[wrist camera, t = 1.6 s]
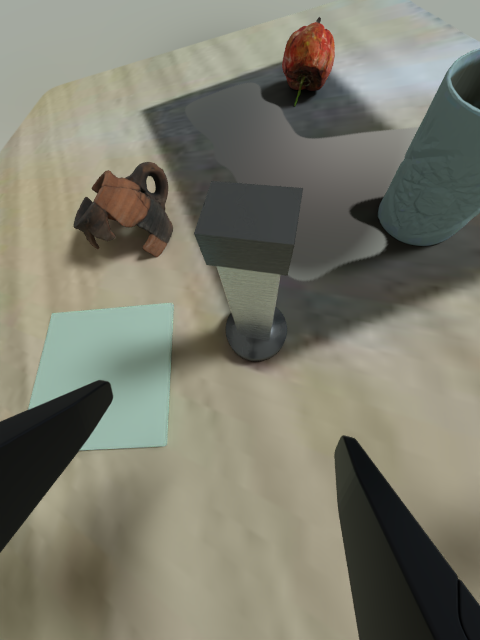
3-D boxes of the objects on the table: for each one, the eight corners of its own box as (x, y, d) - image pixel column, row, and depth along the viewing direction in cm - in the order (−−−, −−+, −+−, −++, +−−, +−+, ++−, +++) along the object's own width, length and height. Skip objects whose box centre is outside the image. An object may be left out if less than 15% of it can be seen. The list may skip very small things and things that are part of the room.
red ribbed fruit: (319, 122, 37) (351, 42, 33) (309, 91, 31) (347, -12, 27) (280, 115, 40) (306, 41, 36) (264, 85, 33) (293, -9, 30)
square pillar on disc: (280, 366, 22) (326, 294, 7) (222, 355, 23) (148, 269, 8) (288, 310, 24) (339, 158, 9) (234, 302, 25) (194, 150, 10)
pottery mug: (149, 280, 27) (73, 239, 21) (127, 262, 34) (64, 226, 27) (201, 196, 27) (139, 129, 21) (169, 194, 33) (115, 142, 27)
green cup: (388, 257, 25) (495, 140, 14) (358, 192, 28) (422, 55, 17) (480, 241, 25) (666, 107, 13) (438, 176, 28) (557, 28, 17)
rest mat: (166, 444, 20) (164, 446, 20) (23, 451, 21) (17, 453, 21) (173, 304, 25) (171, 302, 25) (56, 315, 26) (52, 313, 25)
